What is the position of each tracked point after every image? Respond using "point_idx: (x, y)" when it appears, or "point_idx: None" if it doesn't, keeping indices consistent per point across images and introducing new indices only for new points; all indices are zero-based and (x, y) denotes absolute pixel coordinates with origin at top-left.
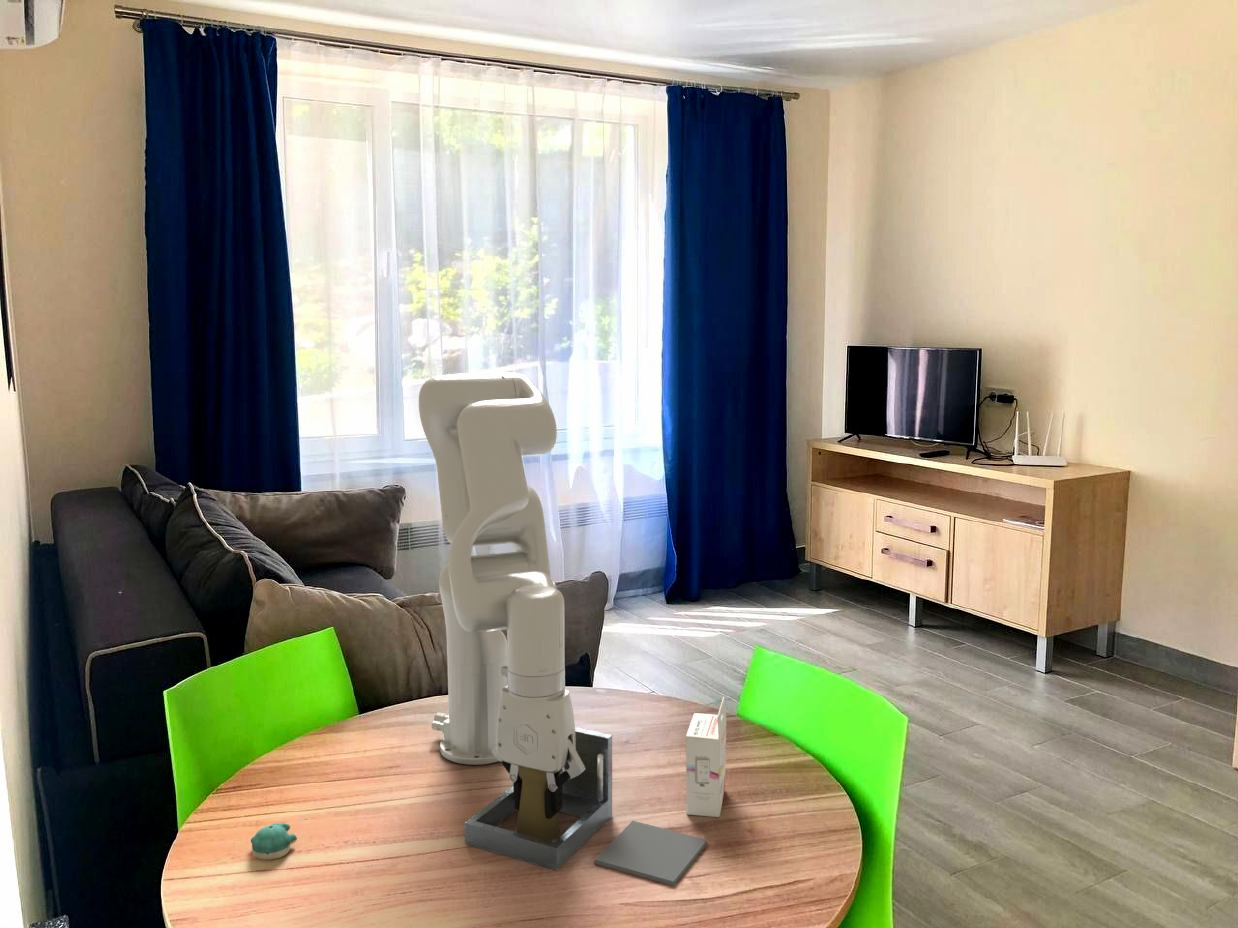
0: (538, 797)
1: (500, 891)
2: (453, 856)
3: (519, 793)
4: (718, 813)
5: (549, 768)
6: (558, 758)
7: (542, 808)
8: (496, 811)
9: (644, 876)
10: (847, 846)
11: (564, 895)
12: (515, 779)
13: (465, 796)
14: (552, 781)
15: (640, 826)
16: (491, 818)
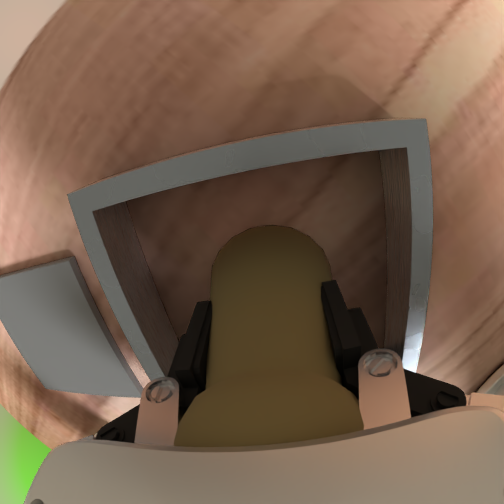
0: (221, 336)
1: (140, 22)
2: (371, 52)
3: (327, 323)
4: (94, 436)
5: (75, 455)
6: (27, 498)
7: (215, 314)
8: (402, 260)
9: (8, 274)
10: (9, 412)
11: (35, 127)
12: (367, 362)
13: (495, 288)
14: (152, 411)
15: (118, 388)
16: (398, 230)
